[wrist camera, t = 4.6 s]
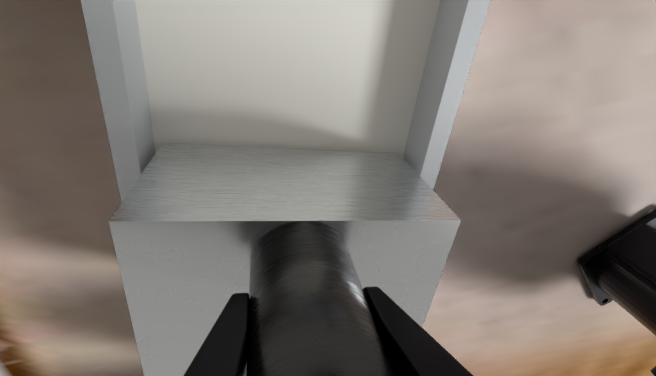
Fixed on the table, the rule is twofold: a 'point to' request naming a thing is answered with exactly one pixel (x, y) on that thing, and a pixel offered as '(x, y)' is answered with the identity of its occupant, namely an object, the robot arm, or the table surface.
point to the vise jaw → (277, 253)
